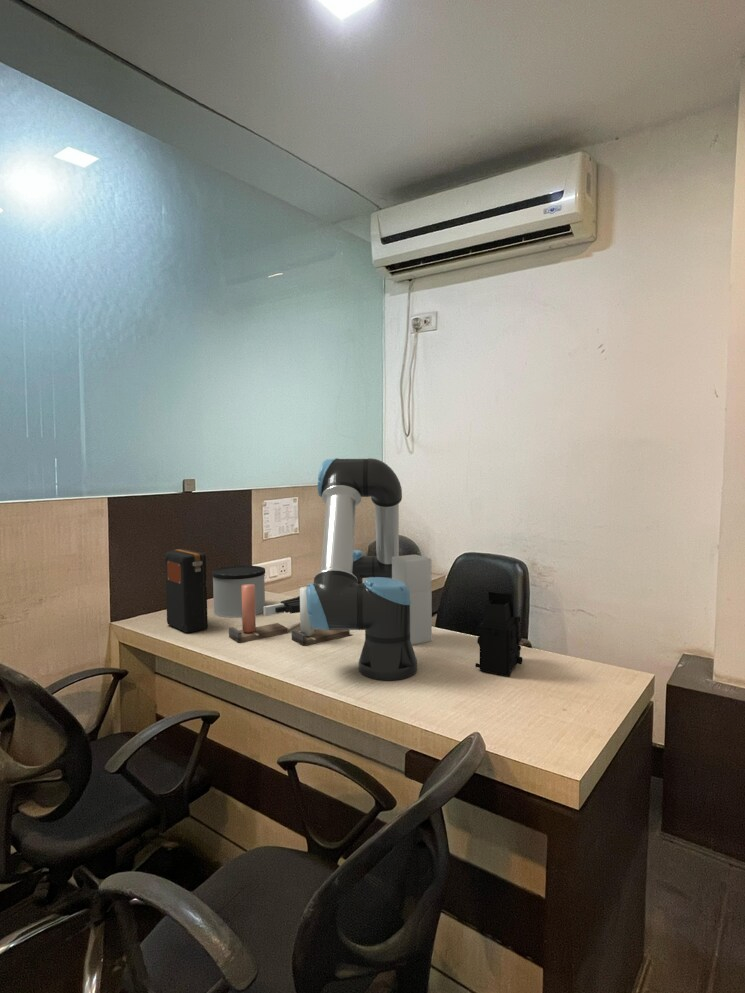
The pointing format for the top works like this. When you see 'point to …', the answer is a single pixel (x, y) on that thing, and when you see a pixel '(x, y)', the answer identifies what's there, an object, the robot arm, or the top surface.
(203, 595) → the voltmeter
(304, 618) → the grey plug
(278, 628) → the brown base
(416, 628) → the tall white carton
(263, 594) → the container
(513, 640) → the camera
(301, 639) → the brown wooden board
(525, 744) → the top surface
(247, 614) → the terracotta plug
